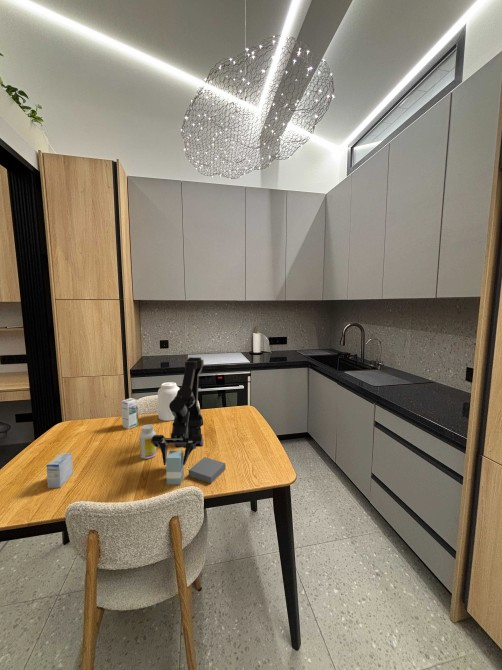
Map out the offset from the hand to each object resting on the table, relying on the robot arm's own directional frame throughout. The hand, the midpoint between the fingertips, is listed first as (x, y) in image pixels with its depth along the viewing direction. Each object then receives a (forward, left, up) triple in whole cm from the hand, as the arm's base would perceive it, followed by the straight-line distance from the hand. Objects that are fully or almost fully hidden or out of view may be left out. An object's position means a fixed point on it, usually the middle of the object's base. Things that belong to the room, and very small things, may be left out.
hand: (174, 465), depth 98 cm
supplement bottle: (-23, +9, -7) cm, 25 cm away
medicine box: (-38, -18, -7) cm, 42 cm away
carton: (-1, +1, -7) cm, 7 cm away
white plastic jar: (-44, +45, -7) cm, 63 cm away
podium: (+7, +10, -7) cm, 14 cm away
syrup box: (-54, +26, -7) cm, 60 cm away
